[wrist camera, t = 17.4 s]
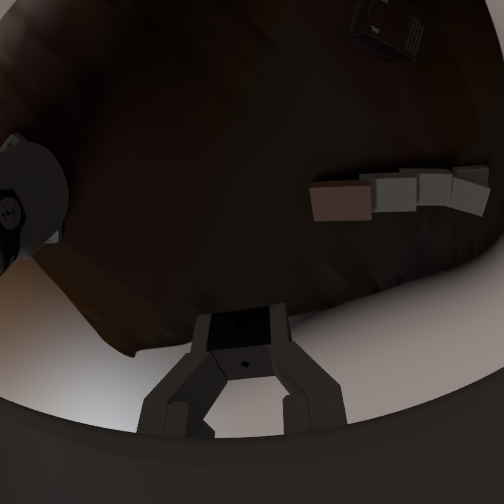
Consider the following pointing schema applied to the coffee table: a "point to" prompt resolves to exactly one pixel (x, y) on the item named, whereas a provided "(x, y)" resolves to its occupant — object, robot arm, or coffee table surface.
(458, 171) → the domino
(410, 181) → the domino
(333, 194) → the domino
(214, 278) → the coffee table surface
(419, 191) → the domino
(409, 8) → the box
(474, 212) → the domino
